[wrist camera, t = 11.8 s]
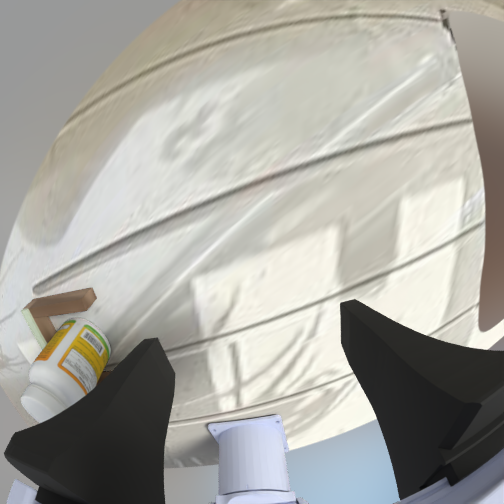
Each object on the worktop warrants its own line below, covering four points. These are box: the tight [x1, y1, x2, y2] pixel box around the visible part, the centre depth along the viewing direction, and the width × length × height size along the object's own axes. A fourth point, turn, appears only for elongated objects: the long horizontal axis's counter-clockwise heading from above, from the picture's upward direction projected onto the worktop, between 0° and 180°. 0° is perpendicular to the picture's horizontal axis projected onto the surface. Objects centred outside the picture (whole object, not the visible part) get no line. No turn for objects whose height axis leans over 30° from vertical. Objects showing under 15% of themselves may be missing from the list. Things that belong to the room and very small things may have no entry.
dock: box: [21, 288, 111, 387], centre depth 20 cm, size 10×8×2 cm
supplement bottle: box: [21, 318, 111, 423], centre depth 16 cm, size 5×5×10 cm
